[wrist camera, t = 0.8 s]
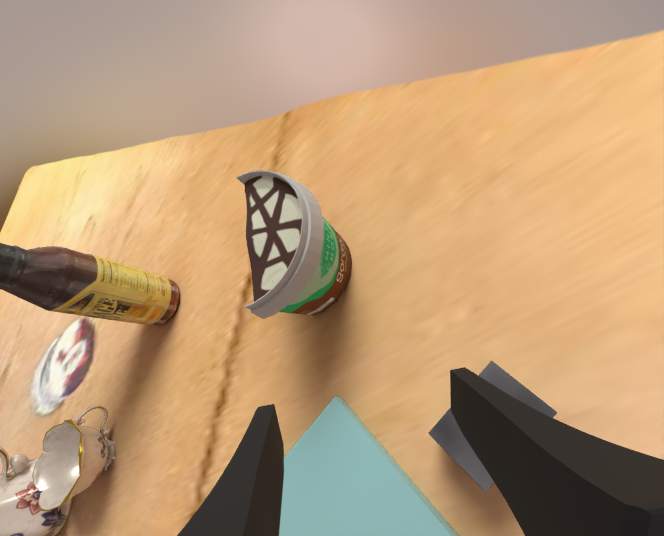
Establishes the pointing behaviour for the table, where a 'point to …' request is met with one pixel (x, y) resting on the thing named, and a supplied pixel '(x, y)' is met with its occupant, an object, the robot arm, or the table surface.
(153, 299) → the sauce bottle
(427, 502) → the teal board
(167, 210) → the table surface
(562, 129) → the table surface
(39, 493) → the chinaware
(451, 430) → the block
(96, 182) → the table surface
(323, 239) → the food container
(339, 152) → the table surface
